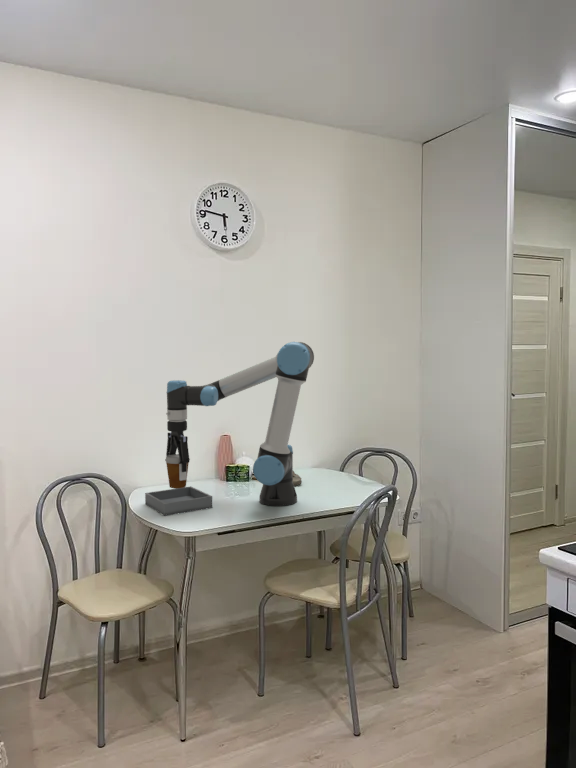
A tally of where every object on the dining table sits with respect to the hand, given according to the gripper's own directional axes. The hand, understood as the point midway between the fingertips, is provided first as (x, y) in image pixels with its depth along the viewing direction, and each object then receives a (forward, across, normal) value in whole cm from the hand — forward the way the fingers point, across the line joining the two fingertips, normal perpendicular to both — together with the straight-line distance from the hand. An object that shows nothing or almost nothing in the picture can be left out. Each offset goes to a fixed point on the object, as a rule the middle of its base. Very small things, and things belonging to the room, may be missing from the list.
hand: (177, 477), depth 239 cm
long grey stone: (+12, -17, +56) cm, 60 cm away
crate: (+11, 0, 0) cm, 11 cm away
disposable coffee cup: (+4, 0, 0) cm, 4 cm away
